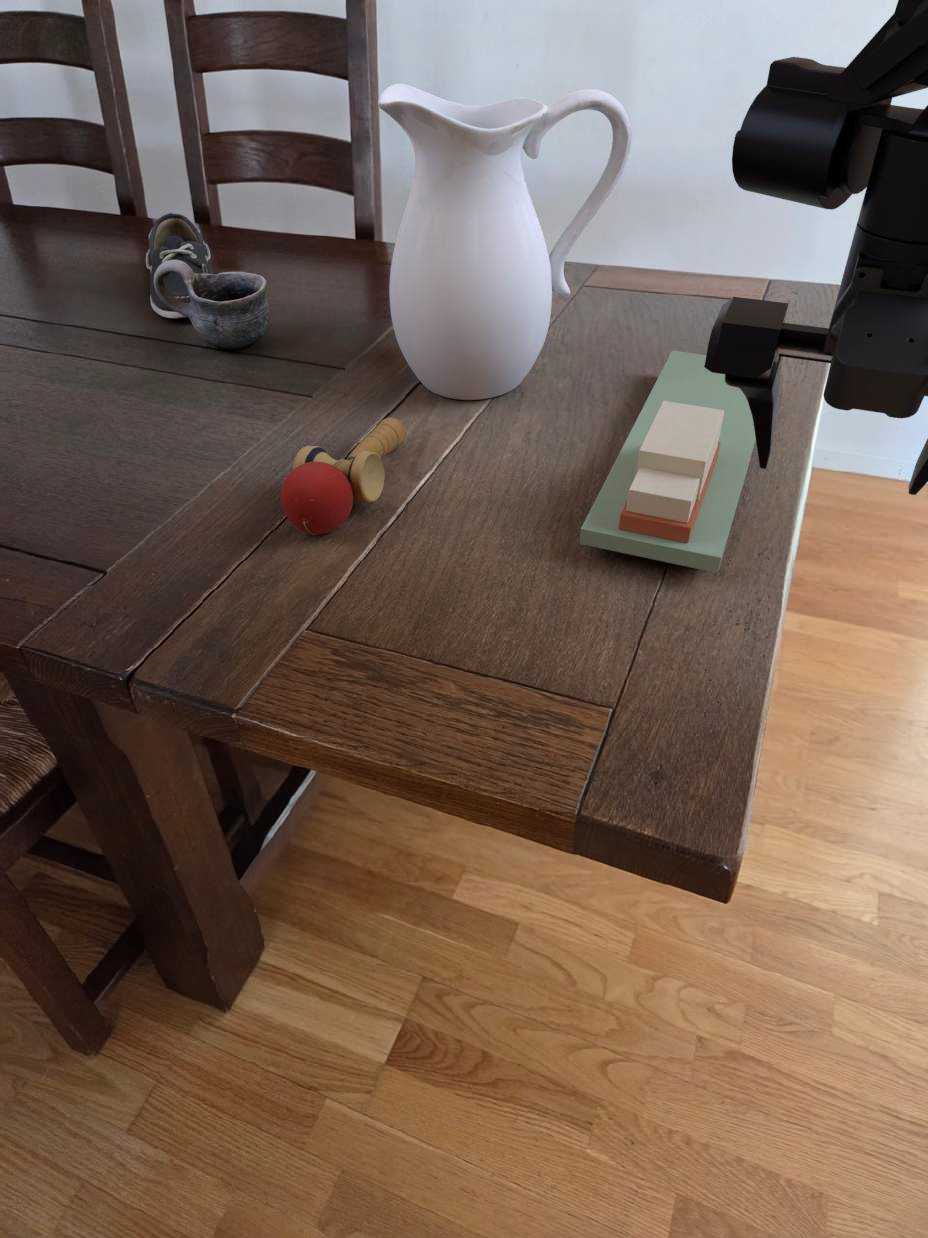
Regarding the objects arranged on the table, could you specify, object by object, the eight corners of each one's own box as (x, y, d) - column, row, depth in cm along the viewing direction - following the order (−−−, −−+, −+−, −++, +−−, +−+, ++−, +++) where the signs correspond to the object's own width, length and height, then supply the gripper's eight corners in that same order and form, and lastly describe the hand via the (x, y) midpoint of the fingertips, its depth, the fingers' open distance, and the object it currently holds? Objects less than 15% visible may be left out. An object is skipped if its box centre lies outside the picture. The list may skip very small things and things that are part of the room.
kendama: (350, 450, 86) (254, 526, 72) (359, 391, 83) (258, 459, 68) (420, 476, 85) (336, 558, 71) (432, 417, 81) (345, 491, 67)
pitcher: (395, 417, 89) (372, 110, 71) (395, 350, 102) (375, 74, 83) (624, 407, 90) (659, 101, 71) (595, 341, 102) (619, 67, 84)
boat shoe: (223, 322, 109) (210, 262, 104) (148, 330, 107) (132, 269, 102) (219, 259, 127) (208, 205, 122) (156, 265, 126) (142, 211, 121)
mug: (281, 352, 102) (267, 265, 95) (173, 368, 99) (151, 280, 92) (269, 322, 109) (255, 239, 102) (168, 336, 106) (147, 252, 99)
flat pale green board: (668, 376, 95) (671, 350, 93) (770, 391, 92) (776, 364, 90) (577, 558, 70) (580, 528, 68) (714, 588, 67) (721, 557, 65)
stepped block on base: (656, 446, 78) (663, 394, 74) (717, 456, 76) (728, 405, 73) (618, 529, 68) (624, 474, 65) (687, 543, 66) (698, 488, 63)
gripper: (712, 256, 43) (668, 515, 53) (1142, 302, 38) (1002, 581, 48) (743, 196, 51) (700, 433, 61) (1104, 227, 45) (990, 481, 56)
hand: (835, 478), depth 56 cm, fingers open, 9 cm apart
